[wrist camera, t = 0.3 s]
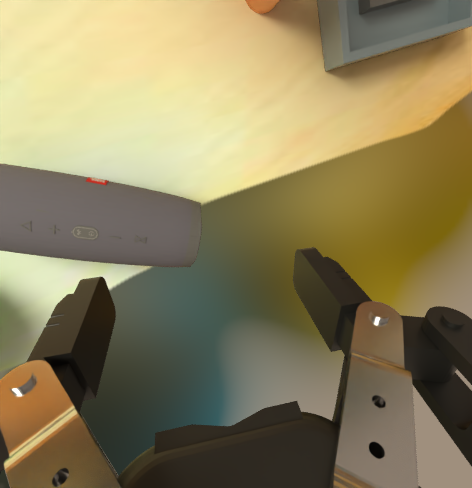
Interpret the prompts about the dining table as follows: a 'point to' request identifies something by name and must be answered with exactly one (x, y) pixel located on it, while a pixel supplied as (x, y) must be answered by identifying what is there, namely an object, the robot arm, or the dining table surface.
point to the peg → (262, 5)
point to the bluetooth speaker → (95, 220)
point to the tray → (385, 26)
